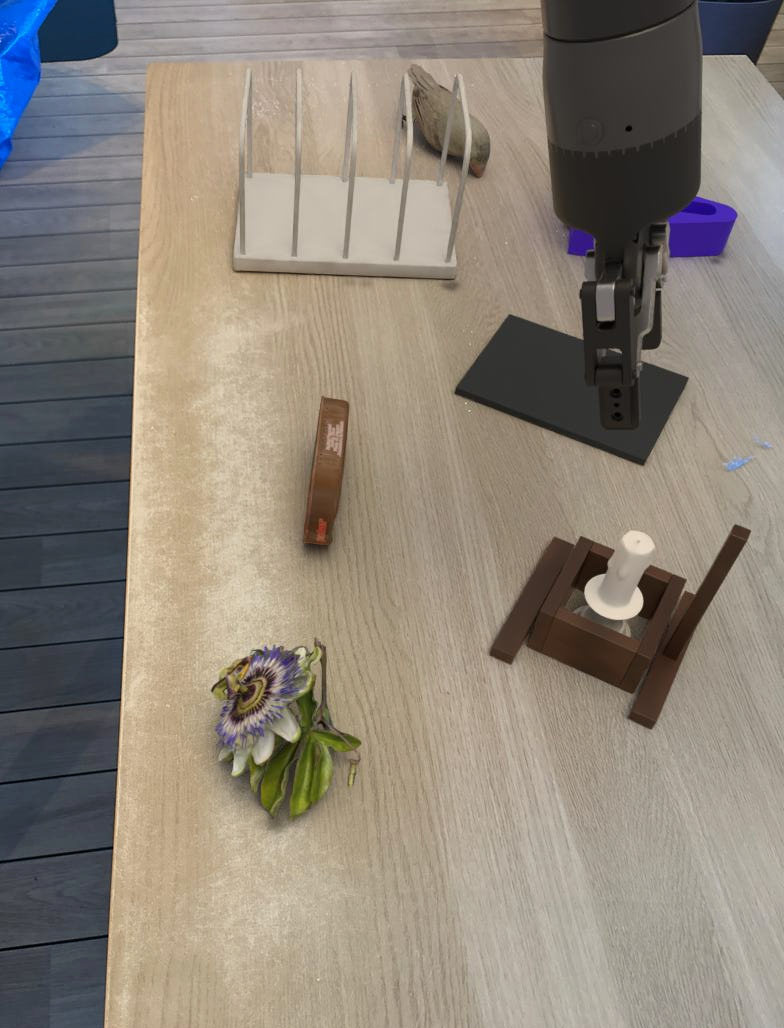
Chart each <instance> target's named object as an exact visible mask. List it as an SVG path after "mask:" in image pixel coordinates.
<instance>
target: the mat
mask: <svg viewBox="0 0 784 1028" xmlns="http://www.w3.org/2000/svg"><path fill="white" fill-rule="evenodd" d="M619 355H622V352H619V351H615V350H613V349H606V355H605V356H619ZM641 361H642V371H640V396H641V419H640V423H639V426H638V428H636V429H634V430H606V429H604V428H603V427H602V426H601V422H600V407H599V392H598V387H587V385H586V380H585V379H584V374H585V358H584V341H583V338H579V337H576V336H573V335H571V334H568V333H564V332H562V331H560V330H557V329H553V328H551V327H547V326H545V325H542V324H539V323H536V322H534V321H531V320H529V319H527V318H523V317H520V316H517V315H514V314H511V313H509V314H508V315H507V317H506V318H505V319H504V321H503V322H502V323H501V324H500V326H499V327H498V329H497V330H496V331H495V333H494V334H493V335H492V337H491V338H490V340H489V341H488V343H487V344H486V345H485V346H484V348H483V349H482V350H481V352H480V353H479V355H478V356H477V358H476V359H475V360H474V362H473V363H472V365H471V366H470V367H469V369H468V370H467V371H466V373H465V374H464V375H463V377H462V378H461V379H460V381H458V384H457V385H456V386H455V389H454V394H456V395H458V396H461V397H463V398H466V399H469V400H471V401H473V402H476V403H479V404H482V405H484V406H487V407H490V408H492V409H495V410H497V411H500V412H502V413H505V414H507V415H510V416H513V417H515V418H518V419H521V420H524V421H526V422H528V423H531V424H534V425H537V426H539V427H541V428H544V429H547V430H549V431H551V432H554V433H557V434H560V435H562V436H564V437H568V438H570V439H573V440H575V441H578V442H580V443H583V444H586V445H589V446H591V447H593V448H596V449H599V450H601V451H604V452H606V453H608V454H611V455H614V456H617V457H620V458H622V459H624V460H627V461H630V462H632V463H635V464H637V465H640V466H645V464H646V462H647V460H648V458H649V456H650V454H651V452H653V449H654V447H655V445H656V443H657V441H658V439H659V437H660V435H661V434H662V431H664V428H665V426H666V424H667V422H668V420H669V418H670V416H671V414H672V412H673V411H674V409H675V407H676V405H677V403H678V402H679V399H680V397H681V396H682V393H683V391H684V390H685V388H686V386H687V384H688V382H689V379H690V377H688V376H686V375H683V374H681V373H677V372H675V371H672V370H669V369H666V368H663V367H660V366H659V365H655V364H653V363H650V362H646V361H644V360H641Z"/></svg>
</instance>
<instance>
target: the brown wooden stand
mask: <svg viewBox="0 0 784 1028" xmlns="http://www.w3.org/2000/svg"><path fill="white" fill-rule="evenodd" d="M751 533H752V530H751V529H749V528H747V527H744V526H742V525H739V524H737V523H735V524H734V525H733V526H732V528H731V530H730V531H729V534H728V535H727V537H726V539H725V540H724V542H723V544H722V545H721V548H720V549H719V551H718V553H717V554H716V556H715V558H714V560H713V562H712V564H711V565H710V567H709V569H708V571H707V572H706V573H705V576H704V578H703V579H702V581H701V583H700V584H699V586H698V588H697V589H696V592H695V593H692V592H690V591H687V590H684V588H685V585H686V584H687V580H688V579H687V578H685V577H682V576H680V575H677V574H675V573H672V572H670V571H667V570H665V569H663V568H660V567H658V566H655V565H653V564H650V566H649V567H648V568H647V569H645V571H644V572H643V575H642V577H641V579H640V581H639V583H638V585H637V587H638V588H639V590H640V591H641V593H642V596H643V607H642V609H641V611H640V612H639V613H638V614H637V615H638V616H641V617H643V618H645V619H648V622H647V625H646V627H645V629H644V630H643V633H642V635H641V638H640V639H639V640H637V639H635V638H633V637H632V636H631V637H628V636H626V635H624V634H621V633H619V632H617V631H615V630H612V629H610V628H608V627H605V626H603V625H601V624H598V623H596V622H594V621H592V620H589V619H587V618H585V617H582V616H580V615H578V614H575V613H573V611H570V610H568V609H566V608H565V607H566V605H567V603H568V601H569V599H570V597H571V596H572V593H573V591H574V589H578V590H580V591H582V592H584V590H585V586H586V584H587V583H588V581H589V580H591V579H592V578H593V577H595V576H598V575H601V574H606V572H607V570H608V561H609V560H610V558H611V557H612V555H613V553H614V551H615V549H614V548H611V547H609V546H607V545H604V544H601V543H600V542H597V541H595V540H592V539H590V538H588V537H585V536H583V535H580V536H579V537H578V540H577V541H576V543H575V544H574V543H571V542H569V541H567V540H564V539H562V538H560V537H558V536H553V537H552V539H551V540H550V542H549V544H548V546H547V548H546V550H545V551H544V553H543V555H542V556H541V558H540V559H539V560H540V561H539V562H538V563H537V565H536V567H535V569H534V570H533V573H532V574H531V576H530V577H529V580H528V581H527V583H526V585H525V587H524V588H523V591H522V592H521V593H520V596H519V597H518V599H517V601H516V602H515V604H514V606H513V607H512V610H511V611H510V613H509V615H508V617H507V618H506V620H505V622H504V624H503V625H502V627H501V629H500V630H499V633H498V634H497V636H496V638H495V640H494V641H493V643H492V645H491V647H490V650H489V653H488V654H489V656H490V657H493V658H495V659H497V660H500V661H502V662H504V663H506V664H508V665H513V662H514V661H515V659H516V657H517V655H518V653H519V652H520V650H521V648H522V646H523V644H524V642H525V640H526V639H527V637H528V635H529V633H530V631H531V629H532V628H533V629H532V632H531V634H530V636H529V640H528V642H527V644H526V645H527V646H526V647H527V648H530V649H531V650H533V651H536V652H538V653H541V654H542V655H545V656H547V657H550V658H551V659H554V660H556V661H558V662H561V663H563V664H565V665H567V666H569V667H572V668H574V669H576V670H579V671H581V672H583V673H585V674H588V675H589V676H592V677H594V678H596V679H597V680H601V681H603V682H605V683H607V684H609V685H611V686H614V687H616V688H619V689H621V690H623V691H624V692H627V693H629V694H631V695H632V694H634V693H635V691H636V689H637V687H638V685H639V683H640V681H641V679H642V678H643V676H644V674H645V672H646V671H647V669H648V668H649V669H648V671H647V674H646V676H645V678H644V681H643V683H642V685H641V687H640V690H639V691H638V694H637V696H636V699H635V700H634V703H633V705H632V707H631V710H630V712H629V714H628V717H627V719H628V720H631V721H632V722H634V723H637V724H639V725H641V726H643V727H646V728H648V729H650V730H652V729H653V728H654V727H655V725H656V724H657V722H658V720H659V717H660V715H661V713H662V710H663V707H664V706H665V703H666V700H667V698H668V695H669V693H670V690H671V688H672V687H673V686H672V685H673V684H674V681H675V679H676V677H677V674H678V672H679V670H680V668H681V664H682V663H683V660H684V658H685V655H686V653H687V651H688V648H689V646H690V644H691V641H692V638H693V636H694V634H695V631H696V629H697V627H698V625H700V622H701V620H702V618H703V617H704V615H705V613H706V611H707V610H708V608H709V607H710V605H711V603H712V601H713V600H714V598H715V596H716V595H717V593H718V591H719V590H720V588H721V586H722V584H723V583H724V582H725V579H726V578H727V576H728V575H729V573H730V571H731V569H732V567H733V566H734V564H735V563H736V561H737V559H738V558H739V556H740V554H741V552H742V551H743V549H744V547H746V546H745V545H746V544H747V542H748V540H749V537H750V535H751ZM683 590H684V592H683ZM682 592H683V594H682ZM681 595H682V596H681ZM658 646H659V647H658ZM657 648H658V649H657ZM651 661H652V662H651ZM650 663H651V665H650ZM649 665H650V667H649Z"/></svg>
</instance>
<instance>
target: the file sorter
mask: <svg viewBox="0 0 784 1028" xmlns="http://www.w3.org/2000/svg"><path fill="white" fill-rule="evenodd" d="M357 75H358V74H357V71H356V70H352V71H351V72H350V79H349V88H348V89H349V90H348V91H349V93H348V103H347V113H346V114H347V117H346V129H345V141H344V157H343V169H342V175H323V174H304V173H303V174H302V157H303V156H302V154H303V153H302V152H303V151H302V150H303V87H302V85H303V84H302V79H303V78H302V77H303V76H302V68H296V70H295V115H294V116H295V117H294V118H295V123H294V124H295V126H294V127H295V128H294V130H295V131H294V142H295V143H294V173H275V172H253V71H252V68H249V67H247V68H246V69H245V77H244V83H243V84H244V85H243V93H242V94H243V95H242V102H241V103H242V104H241V113H240V120H239V121H240V122H239V135H238V189H239V190H238V195H239V196H238V204H237V215H236V225H235V235H234V243H233V244H234V245H233V255H232V257H233V258H232V261H233V263H232V268H233V270H234V271H243V272H244V271H245V272H246V271H247V272H248V271H249V272H269V273H271V272H272V273H296V274H297V273H299V274H319V275H340V276H341V275H343V276H368V277H392V278H393V277H394V278H418V279H419V278H420V279H444V280H446V279H447V280H454V279H456V275H457V270H458V262H457V261H458V260H457V254H456V253H457V252H456V245H455V243H456V241H455V240H456V234H457V231H458V226H459V221H460V220H459V219H460V215H461V210H462V205H463V204H462V203H463V199H464V195H465V194H464V193H465V188H466V183H467V178H468V172H469V167H470V164H469V162H470V155H471V143H472V131H471V124H470V118H469V114H470V112H469V105H468V99H467V93H466V87H465V82H464V81H465V80H464V76H463V74H462V73H457V74H456V75H455V77H454V80H453V85H452V90H451V92H452V95H451V101H450V107H449V114H448V120H447V126H446V132H445V138H444V144H443V151H442V152H441V158H440V164H439V169H438V177H437V180H433V179H410V173H411V165H412V156H413V145H414V123H413V116H412V96H411V85H410V76H409V74H408V73H403V74H402V77H401V82H400V90H399V100H398V108H397V115H396V117H397V118H396V126H395V133H394V143H393V152H392V161H391V168H390V169H391V170H390V177H370V176H356V168H357V158H358V157H357V156H358V142H359V140H358V139H359V106H358V101H359V99H358V76H357ZM458 94H459V101H461V106H462V114H463V122H464V128H465V153H464V157H463V161H462V168H461V172H460V178H459V184H458V188H457V195H456V200H455V206H454V211H453V216H452V210H451V208H452V207H451V200H450V192H449V185H448V184H449V182H448V181H446V180H444V175H445V169H446V163H447V158H448V154H447V151H448V145H449V139H450V133H451V127H452V121H453V115H454V109H455V103H456V97H457V96H458ZM457 98H458V97H457ZM404 107H405V116H406V121H405V122H406V149H405V161H404V170H403V178H396V174H397V166H398V165H397V164H398V157H399V149H400V140H401V133H402V116H403V115H404ZM246 132H247V133H246ZM246 135H247V136H246ZM246 138H247V139H246ZM246 140H247V141H246ZM246 142H247V144H246ZM350 147H351V151H350ZM245 148H247V151H246V150H245ZM245 151H246V152H245ZM245 154H246V155H247V156H246V155H245ZM245 156H246V157H247V165H245V164H246V163H245V161H246V160H245V158H246V157H245ZM349 160H350V165H349ZM245 166H246V167H245ZM246 169H247V171H246ZM245 171H246V172H245ZM348 172H349V175H348Z"/></svg>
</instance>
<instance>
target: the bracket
mask: <svg viewBox="0 0 784 1028" xmlns="http://www.w3.org/2000/svg"><path fill="white" fill-rule="evenodd" d="M737 218H738V212H737V211H736V210H735V208H733V207H732V206H730V205H727V204H725V203H721V202H718V201H715V200H711V199H707V198H704V197H701V196H698V195H696V197H695V198H694V200H693V201H692V202H691V203H690V204H689V205H688V206H687V207H686V208H684V209H683V210H682V211H681V212H679V213H678V214H676V215H674V216H672V217H671V218H669V219H668V222H669V226H670V234H669V249H670V258H686V257H687V258H691V257H715V256H719V255H721V254H722V253H723V252H724V250H725V247H726V244H727V243H728V240H729V238H730V235H731V234H732V230H733V228H734V226H735V224H736V221H737ZM587 250H595V249H594V237H592V236H591V235H589V234H588V233H586V232H583V231H581V230H575V229H573V228H570V227H569V232H568V243H567V252H566V253H567V255H572V256H573V255H574V256H581V257H586V252H587Z"/></svg>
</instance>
